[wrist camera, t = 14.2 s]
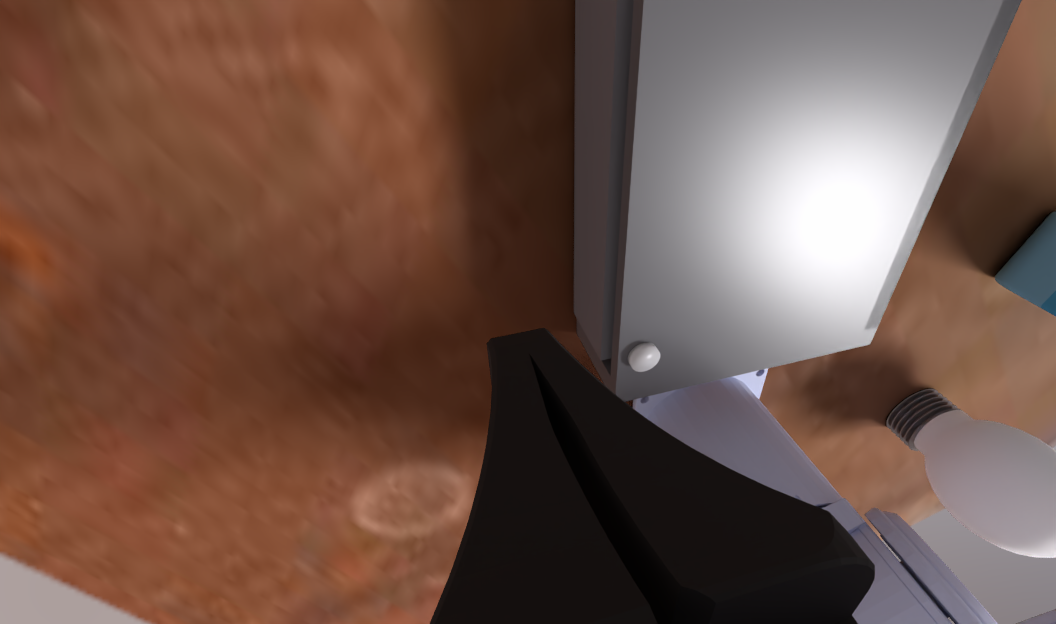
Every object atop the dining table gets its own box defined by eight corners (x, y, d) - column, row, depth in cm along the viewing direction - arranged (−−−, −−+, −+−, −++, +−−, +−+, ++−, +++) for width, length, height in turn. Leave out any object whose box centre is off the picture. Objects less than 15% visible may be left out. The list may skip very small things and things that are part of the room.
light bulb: (868, 452, 40) (1009, 597, 31) (870, 400, 36) (1033, 551, 27) (951, 412, 40) (1116, 547, 31) (963, 355, 36) (1157, 493, 27)
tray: (573, 312, 24) (600, 360, 22) (575, -15, 17) (616, -3, 14) (789, 270, 26) (838, 309, 24) (879, -41, 19) (967, -34, 16)
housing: (576, 333, 26) (617, 409, 22) (580, -74, 16) (654, -73, 12) (800, 287, 28) (875, 348, 24) (919, -96, 18) (1078, -102, 14)
